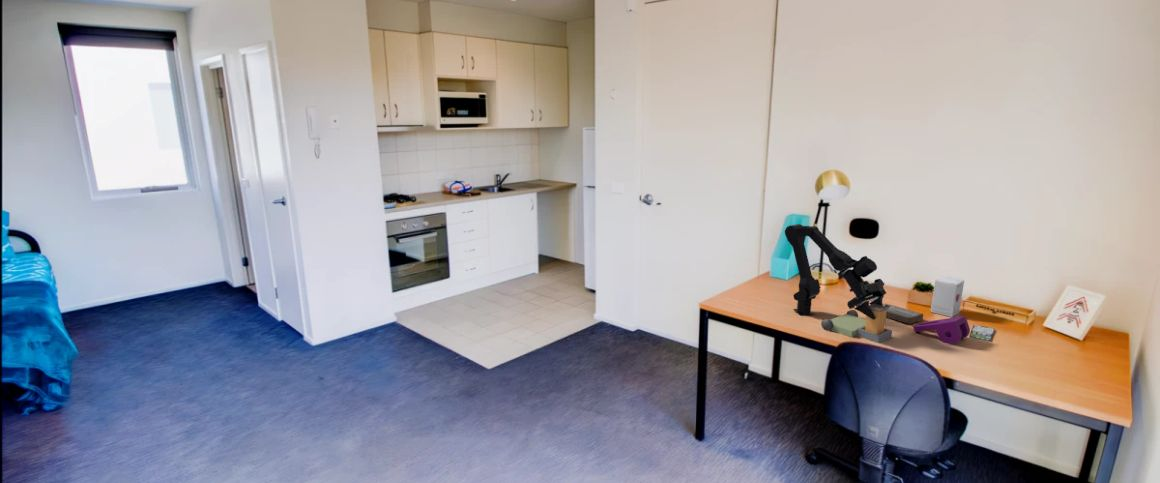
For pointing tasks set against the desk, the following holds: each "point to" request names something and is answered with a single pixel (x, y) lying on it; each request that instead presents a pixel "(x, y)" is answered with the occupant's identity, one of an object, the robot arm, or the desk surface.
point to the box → (902, 314)
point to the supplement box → (947, 296)
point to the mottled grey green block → (982, 333)
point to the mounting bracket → (946, 328)
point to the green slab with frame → (854, 327)
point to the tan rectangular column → (879, 322)
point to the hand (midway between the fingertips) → (879, 317)
